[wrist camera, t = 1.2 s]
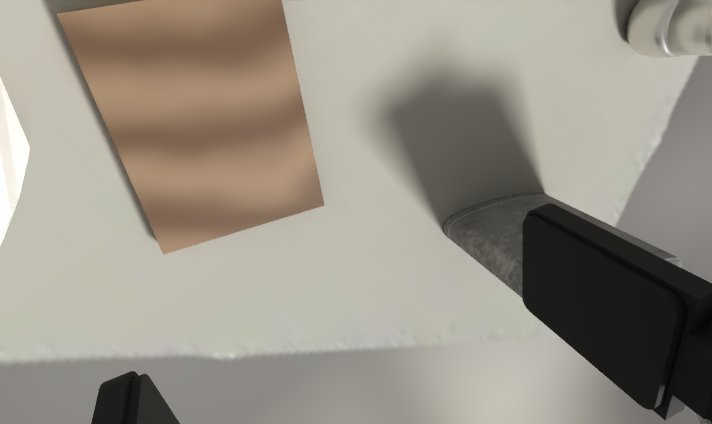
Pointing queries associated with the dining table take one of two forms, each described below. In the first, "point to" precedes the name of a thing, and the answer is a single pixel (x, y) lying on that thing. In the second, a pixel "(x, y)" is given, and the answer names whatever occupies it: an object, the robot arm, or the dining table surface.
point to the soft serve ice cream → (10, 160)
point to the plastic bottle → (671, 28)
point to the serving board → (200, 111)
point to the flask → (514, 234)
